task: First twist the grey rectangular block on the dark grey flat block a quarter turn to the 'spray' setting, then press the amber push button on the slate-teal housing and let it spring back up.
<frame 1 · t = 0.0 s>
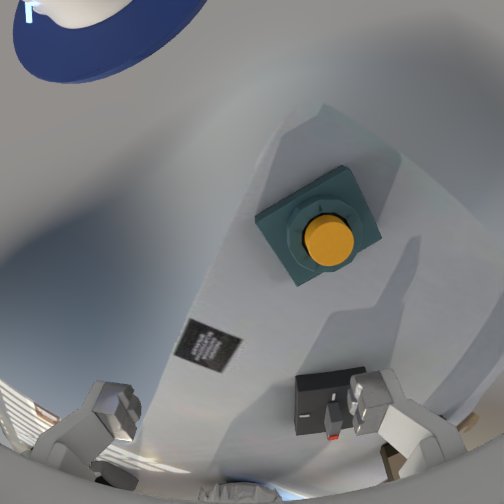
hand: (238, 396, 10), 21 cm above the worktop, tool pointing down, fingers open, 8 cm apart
alarm clock: (115, 471, 57), on the worktop
trigger button: (328, 240, 25), point 5 cm above the worktop, slide at 0.1 cm
dark grey flat block: (327, 397, 40), on the worktop
grey rectangular block: (333, 422, 36), point 5 cm above the worktop, hinge at 0.0°
trigger housing: (318, 223, 29), on the worktop
bottle: (413, 435, 49), on the worktop
bowl: (240, 484, 56), on the worktop
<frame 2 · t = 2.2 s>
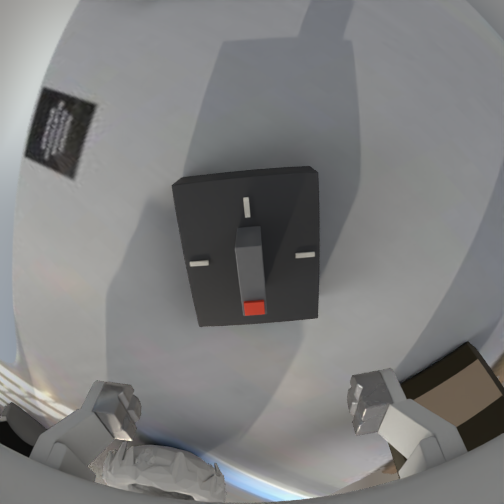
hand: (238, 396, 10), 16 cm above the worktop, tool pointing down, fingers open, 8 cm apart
alarm clock: (29, 422, 42), on the worktop
dark grey flat block: (251, 242, 24), on the worktop
grey rectangular block: (251, 271, 20), point 5 cm above the worktop, hinge at 0.0°
bottle: (426, 379, 33), on the worktop
bowl: (169, 453, 41), on the worktop
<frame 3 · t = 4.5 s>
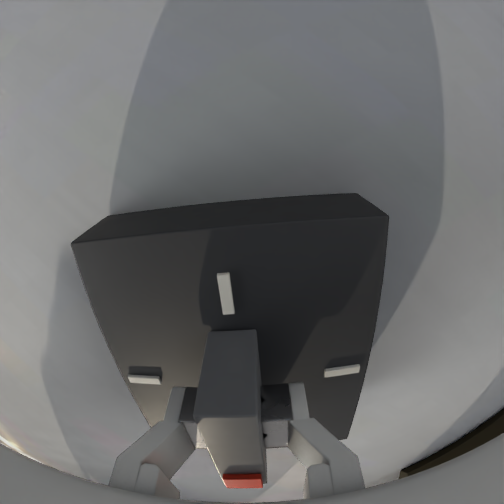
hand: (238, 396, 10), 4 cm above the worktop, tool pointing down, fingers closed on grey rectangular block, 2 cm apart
dark grey flat block: (242, 331, 13), on the worktop
grey rectangular block: (238, 418, 9), point 5 cm above the worktop, hinge at -0.1°, touching gripper
bottle: (458, 445, 22), on the worktop
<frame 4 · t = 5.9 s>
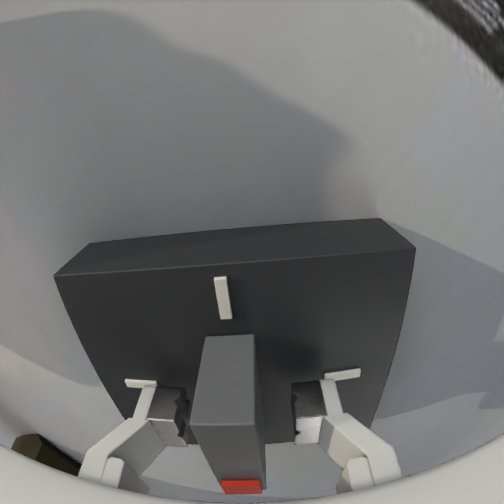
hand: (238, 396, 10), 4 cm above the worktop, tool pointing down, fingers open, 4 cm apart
dark grey flat block: (241, 334, 13), on the worktop
grey rectangular block: (236, 424, 9), point 5 cm above the worktop, hinge at 90.0°
bottle: (77, 468, 23), on the worktop
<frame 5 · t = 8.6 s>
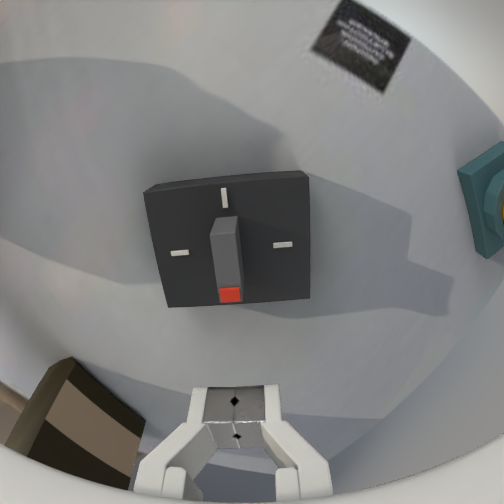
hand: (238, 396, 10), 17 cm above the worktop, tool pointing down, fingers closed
dark grey flat block: (232, 234, 25), on the worktop
grey rectangular block: (228, 259, 20), point 5 cm above the worktop, hinge at 90.0°
trigger housing: (491, 197, 23), on the worktop
bottle: (98, 395, 35), on the worktop
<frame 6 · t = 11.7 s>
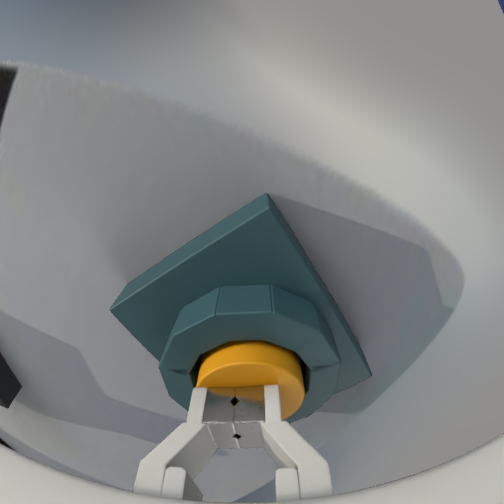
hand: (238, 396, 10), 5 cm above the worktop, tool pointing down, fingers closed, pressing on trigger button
trigger button: (250, 380, 11), point 4 cm above the worktop, slide at -0.8 cm, touching gripper
trigger housing: (251, 323, 14), on the worktop
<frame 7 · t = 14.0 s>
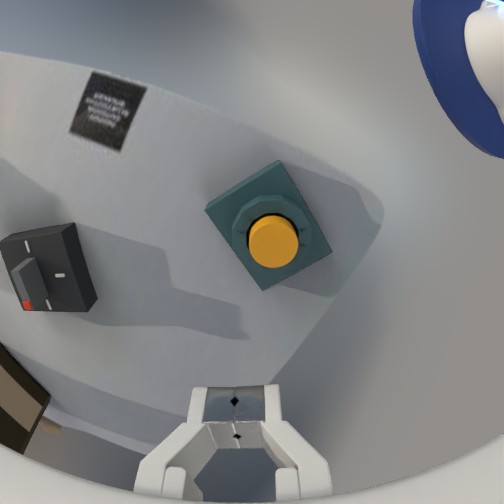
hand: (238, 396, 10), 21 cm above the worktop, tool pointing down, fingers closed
trigger button: (273, 241, 25), point 5 cm above the worktop, slide at 0.1 cm
dark grey flat block: (50, 265, 31), on the worktop
grey rectangular block: (29, 284, 26), point 5 cm above the worktop, hinge at 90.0°
trigger housing: (269, 224, 29), on the worktop
bottle: (20, 372, 41), on the worktop
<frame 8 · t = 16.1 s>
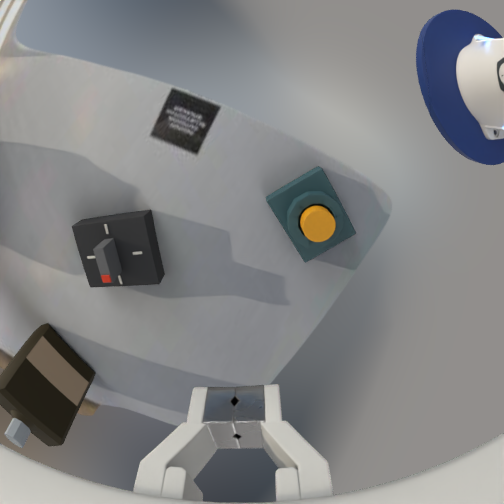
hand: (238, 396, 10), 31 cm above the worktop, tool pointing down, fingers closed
trigger button: (317, 223, 35), point 5 cm above the worktop, slide at 0.1 cm
dark grey flat block: (121, 246, 41), on the worktop
grey rectangular block: (107, 260, 37), point 5 cm above the worktop, hinge at 90.0°
trigger housing: (310, 212, 39), on the worktop
bottle: (65, 352, 51), on the worktop
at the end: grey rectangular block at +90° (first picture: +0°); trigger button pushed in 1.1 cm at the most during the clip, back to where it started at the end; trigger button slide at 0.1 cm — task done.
